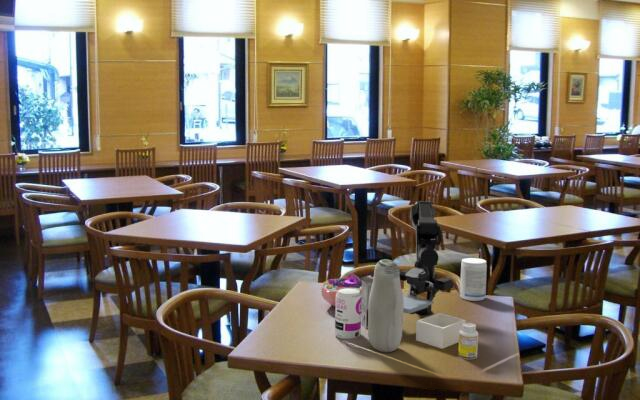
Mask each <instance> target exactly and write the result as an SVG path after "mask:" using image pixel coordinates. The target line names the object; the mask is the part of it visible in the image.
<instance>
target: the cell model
mask: <svg viewBox="0 0 640 400" xmlns="http://www.w3.org/2000/svg"><path fill="white" fill-rule="evenodd" d="M341 288H355V289H358V290H360V293H362V278H361V279H360V277H359V276H357V275H356V274H353V273H351V274H348V275H347V277H340V278H339V277H338V278H331V279H328V280H326V281H324V282H323V283H322V285H321V297H322V299H324V300H325V301H326V302H327V303H328V304H330V305H331V306H333V307H335V308H336V293H337V292H338V290H339V289H341Z"/></svg>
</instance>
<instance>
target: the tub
mask: <svg viewBox="0 0 640 400" xmlns="http://www.w3.org/2000/svg"><path fill="white" fill-rule="evenodd" d="M466 321H467V320H466V319H463V318H459V317H456V316H453V315H449V314H446V313H442V312H437V313H435V314H430V315H427V316H426V317H423V318H420V319H418V320H416V325H415V326H416V327H415V328H416V331H415V341H417V342H419V343H423V344H426V345H430V346H431V347H435V348H438V349H441V350H442V349H445V348H448V347H451V346H453V345H455V344H457V343H458V344H459V331H460V330H461V329H462V324H463V323H466Z"/></svg>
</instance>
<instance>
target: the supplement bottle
mask: <svg viewBox="0 0 640 400" xmlns="http://www.w3.org/2000/svg"><path fill="white" fill-rule="evenodd" d="M478 344H479V332H478V331H477V325H476V324H475V323H473V322H465V323H463V324H462V329H461V330H460V331H459V342H458V350H457V351H458V353H457V356H458V357H459V358H460V359H464V360H474V359H475V360H476V359H477V358H478V352H479V351H478V348H479V347H478V346H479V345H478Z"/></svg>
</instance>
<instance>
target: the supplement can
mask: <svg viewBox="0 0 640 400" xmlns="http://www.w3.org/2000/svg"><path fill="white" fill-rule="evenodd" d="M361 305H362V295H361V293H360V290H358V289H355V288H341V289H339V290H338V292H337V293H336V307H335V316H334V319H335V320H334V335H335V336H336V337H337V338H338V339H344V340H345V339H348V340H351V339H357V338H359V337H360V336H361V333H362V330H361V329H362V324H361Z"/></svg>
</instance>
